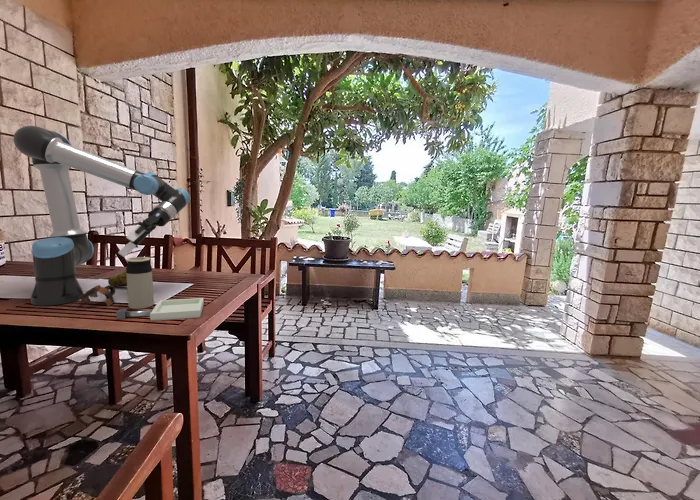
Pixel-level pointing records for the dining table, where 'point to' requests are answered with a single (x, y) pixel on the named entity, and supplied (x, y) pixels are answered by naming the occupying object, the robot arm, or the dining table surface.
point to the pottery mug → (102, 290)
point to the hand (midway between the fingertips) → (125, 247)
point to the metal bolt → (131, 313)
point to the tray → (177, 309)
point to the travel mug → (139, 283)
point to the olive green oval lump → (118, 280)
